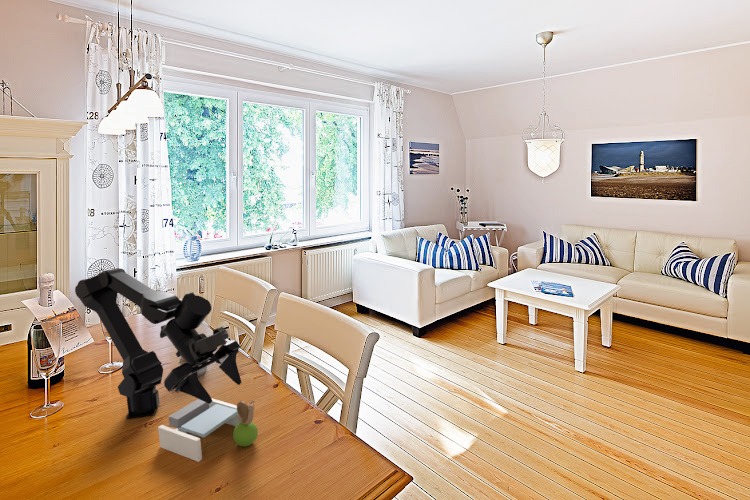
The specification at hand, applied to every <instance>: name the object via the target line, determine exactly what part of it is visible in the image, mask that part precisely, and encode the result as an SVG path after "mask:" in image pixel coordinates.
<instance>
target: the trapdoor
mask: <svg viewBox="0 0 750 500" xmlns="http://www.w3.org/2000/svg"><path fill="white" fill-rule="evenodd" d="M237 414H238V412H237V410H236V409H232V408H229V407H226V406H222V405H219V404H215V405H214V406H212V407H211V408H209V404H208V403H206V402H204V401H202V400H200V399H198V398H196V399H195V400H194V401H192V402H190V403H189V404H187V405H186V406H183V407H182V408H180V409H179V410H177V411H175V412H174V413H172V414H170V415H169V416H168V422H169V424H168V426H169V427H171V428H173V429H176V428H177V429H180V428H181V430H183V431H186V433H190V434H191V435H195V436H198V437H199V438H200V437H201V438H205V437H207V436H209V435H210V434H212V433H213V432H214V431H216V430H217V429H219V428H220V427H221V426H223V425H224V424H227V423H226V422H227V421H228V420H230V419H231V418H233V417H234V416H236V415H237Z"/></svg>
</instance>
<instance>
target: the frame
mask: <svg viewBox="0 0 750 500" xmlns="http://www.w3.org/2000/svg"><path fill="white" fill-rule="evenodd" d="M211 399H212V402H211V403H210V404H209V408H211V407H212V406H214V405H215V404H219V405H222V406H226V407H229V408H232V409H236V410H237V404H233V403H229V402H226V401H222V400H219V399H217V398H216V399H215V398H212V397H211ZM238 415H239V414H237V415H236V416H234V417H233V418H231V419H230V420H228V421H227V422H226V423H225V424H227V425H230V426H233V427H236V426H237V425H238V424H239V423H240V420H239V419H238ZM157 429H158V438H159V447H160V448H162V449H164V450H167V451H170V452H172V453H175V454H177V455H180V456H182V457H185V458H188V459H190V460H192V461H195V462H197V463H198V462H201V461H202V460H203V453H202V443H201V438H200V437H199V436H198V437H197V436H196V435H195V436H194V435H193V434H188V433H187V432H186V431H183V430H181V428H180V429H177V428H173V427H170V426H166V425H163V424H161V425H159V426H158V427H157Z"/></svg>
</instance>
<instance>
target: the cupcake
mask: <svg viewBox="0 0 750 500" xmlns="http://www.w3.org/2000/svg"><path fill="white" fill-rule="evenodd" d="M208 361H210V360H208ZM208 361H207V362H208ZM184 363H186V361H185V360H184V358H183V357H182V356H180V357H179V358H178V364H179V366H180V365H182V364H184ZM199 366H200V365H199ZM207 370H208V366H207V367H205V368H203V369H201V370H199V371H197V374H198V377H200V376H202V375H204V374H206V372H207Z"/></svg>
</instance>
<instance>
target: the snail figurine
mask: <svg viewBox="0 0 750 500" xmlns="http://www.w3.org/2000/svg"><path fill="white" fill-rule="evenodd" d="M252 403H253V404H252ZM254 403H255V400H254V399H253V400H252V401H249V403H248V404H249V405H248V404H247V403H246V402H245V401H243V400H241V401H239V402H238V403H237V404H236V406H237V412H238V414H239V415H238V419H239V420H240V423H239V424H238V425H237V426H234V429H233V431H232V437H233V442H234V443H235V444H236V445H238V446H240V447H249V446H250V445H252V444H253V443H254V442H255V441H256V440H257V437H258V433H259V432H258V427H257V425H256V424H255V423H254V422H253V421H254V414H255V412H254V411H255V404H254Z"/></svg>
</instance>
